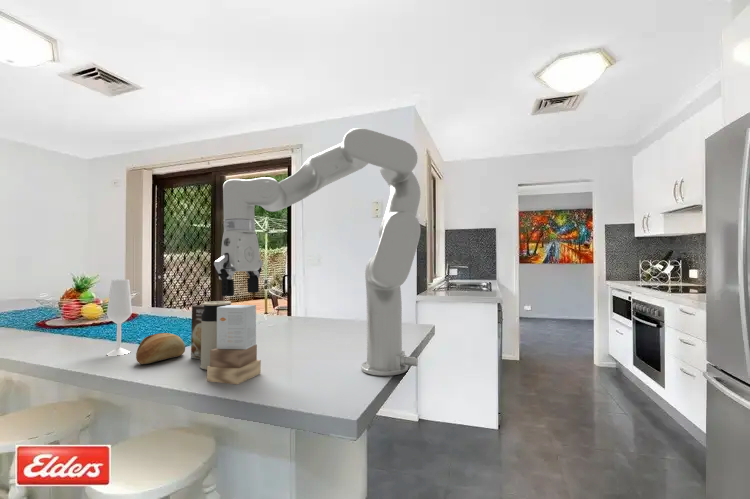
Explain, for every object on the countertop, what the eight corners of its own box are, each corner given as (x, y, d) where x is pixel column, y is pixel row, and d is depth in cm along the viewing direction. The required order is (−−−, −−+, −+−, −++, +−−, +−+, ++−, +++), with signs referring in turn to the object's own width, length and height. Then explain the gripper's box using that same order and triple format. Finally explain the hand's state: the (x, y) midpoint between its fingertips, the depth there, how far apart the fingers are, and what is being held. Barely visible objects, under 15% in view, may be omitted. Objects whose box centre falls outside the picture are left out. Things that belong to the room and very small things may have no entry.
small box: (256, 345, 93) (256, 304, 93) (246, 350, 87) (246, 307, 88) (227, 344, 94) (228, 304, 95) (215, 349, 88) (216, 306, 89)
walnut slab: (256, 359, 94) (256, 344, 94) (239, 368, 86) (239, 351, 86) (229, 358, 95) (229, 343, 95) (210, 366, 87) (210, 350, 87)
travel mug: (194, 368, 98) (195, 303, 99) (218, 361, 105) (218, 300, 106) (214, 372, 94) (215, 304, 95) (237, 364, 101) (238, 301, 102)
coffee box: (189, 358, 109) (190, 305, 109) (205, 353, 115) (206, 303, 116) (213, 360, 106) (213, 306, 106) (228, 355, 112) (229, 304, 113)
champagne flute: (125, 355, 113) (127, 280, 114) (101, 356, 111) (103, 280, 112) (134, 350, 119) (136, 279, 120) (112, 351, 118) (114, 279, 119)
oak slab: (260, 375, 93) (260, 360, 93) (237, 386, 84) (238, 369, 85) (231, 372, 96) (232, 357, 96) (206, 383, 87) (207, 366, 87)
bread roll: (124, 365, 101) (125, 337, 102) (168, 353, 116) (169, 328, 116) (151, 368, 99) (151, 339, 99) (192, 355, 113) (193, 330, 113)
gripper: (228, 223, 83) (229, 297, 82) (271, 229, 99) (273, 291, 98) (202, 225, 85) (203, 297, 84) (249, 231, 101) (250, 291, 101)
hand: (241, 294), depth 91 cm, fingers open, 9 cm apart
